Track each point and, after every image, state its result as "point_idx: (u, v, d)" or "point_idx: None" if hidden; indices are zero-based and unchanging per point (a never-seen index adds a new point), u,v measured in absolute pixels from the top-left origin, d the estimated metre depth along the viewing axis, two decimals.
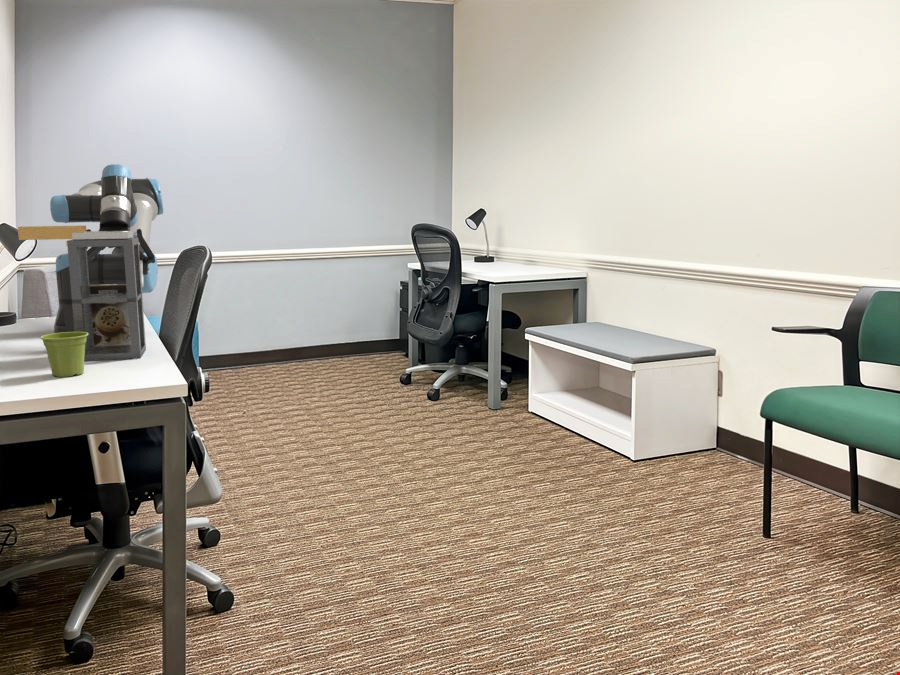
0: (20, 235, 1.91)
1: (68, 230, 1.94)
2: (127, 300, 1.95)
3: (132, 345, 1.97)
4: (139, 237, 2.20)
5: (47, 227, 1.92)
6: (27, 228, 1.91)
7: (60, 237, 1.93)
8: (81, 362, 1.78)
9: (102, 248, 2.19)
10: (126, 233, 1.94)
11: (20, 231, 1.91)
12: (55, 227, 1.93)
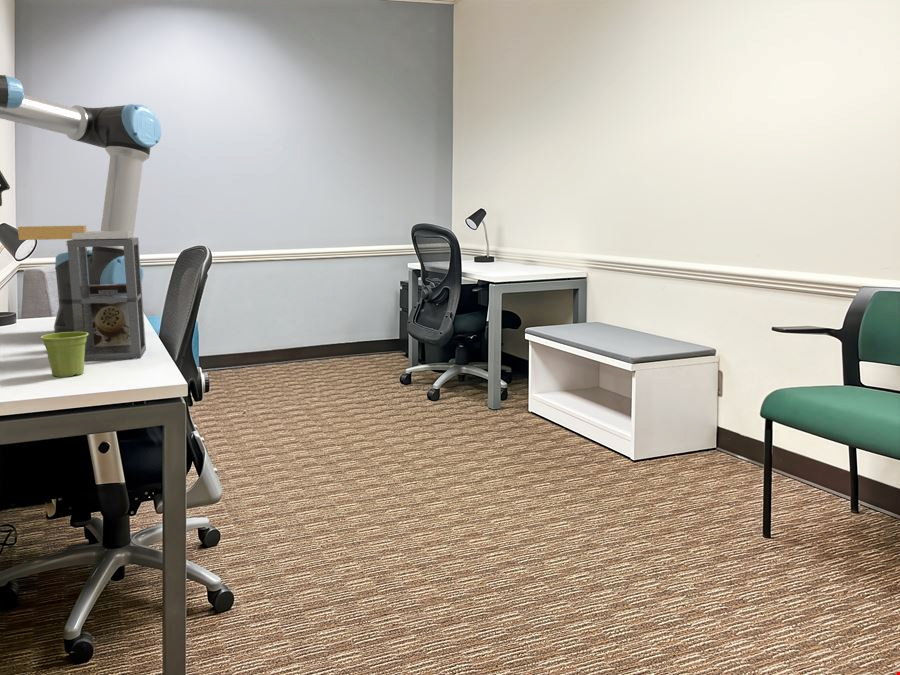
0: (20, 235, 1.91)
1: (68, 230, 1.94)
2: (127, 300, 1.95)
3: (132, 345, 1.97)
4: None
5: (47, 227, 1.92)
6: (27, 228, 1.91)
7: (60, 237, 1.93)
8: (81, 362, 1.78)
9: None
10: (126, 233, 1.94)
11: (20, 231, 1.91)
12: (55, 227, 1.93)
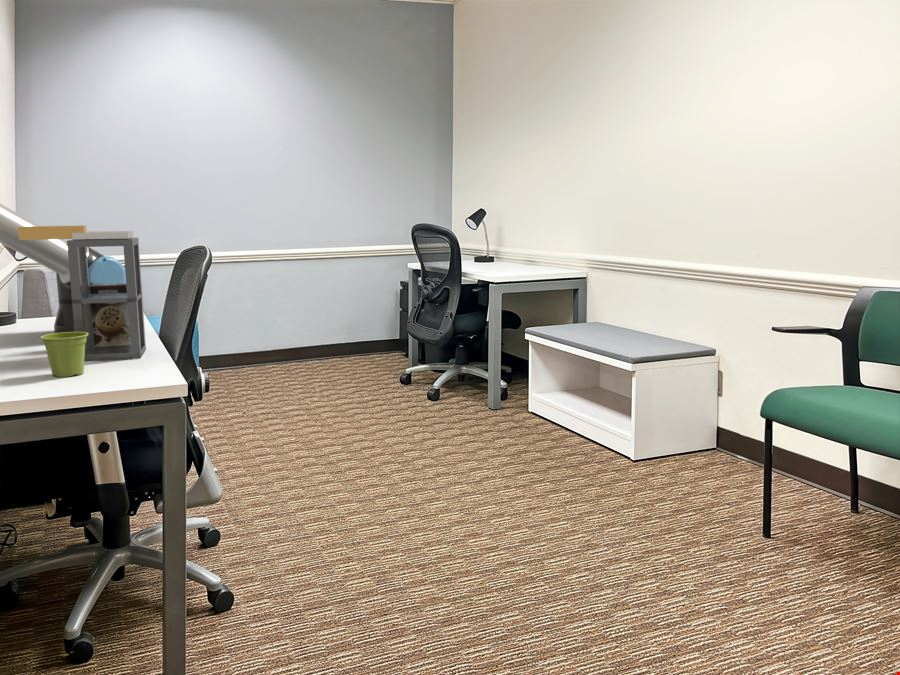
0: (20, 235, 1.91)
1: (68, 230, 1.94)
2: (127, 300, 1.95)
3: (132, 345, 1.97)
4: None
5: (47, 227, 1.92)
6: (27, 228, 1.91)
7: (60, 237, 1.93)
8: (81, 362, 1.78)
9: None
10: (126, 233, 1.94)
11: (20, 231, 1.91)
12: (55, 227, 1.93)
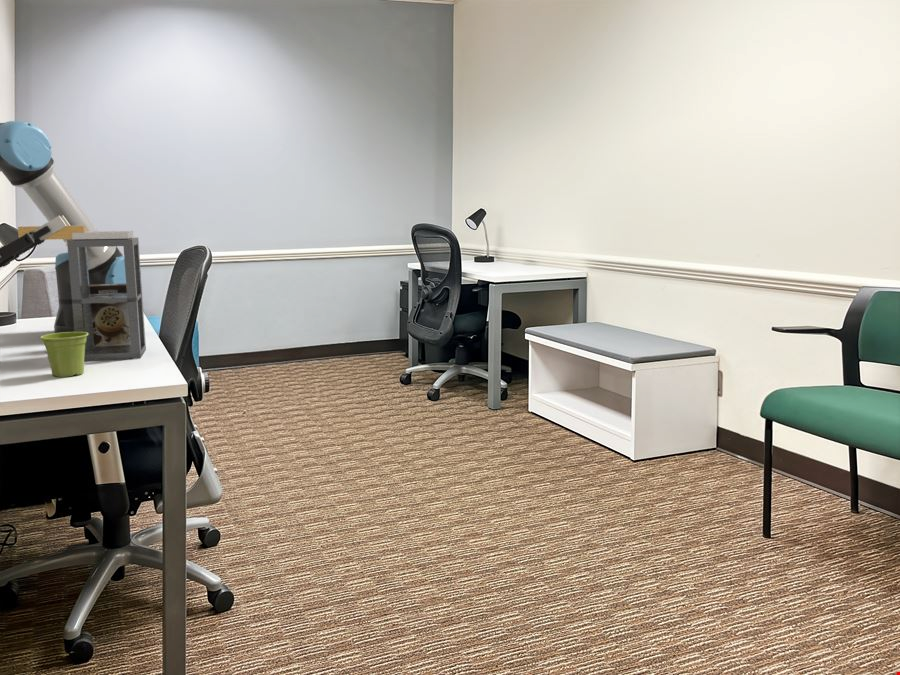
0: (20, 235, 1.91)
1: (68, 230, 1.94)
2: (127, 300, 1.95)
3: (132, 345, 1.97)
4: (5, 258, 1.88)
5: None
6: (27, 228, 1.91)
7: (60, 237, 1.93)
8: (81, 362, 1.78)
9: None
10: (126, 233, 1.94)
11: (20, 231, 1.91)
12: None
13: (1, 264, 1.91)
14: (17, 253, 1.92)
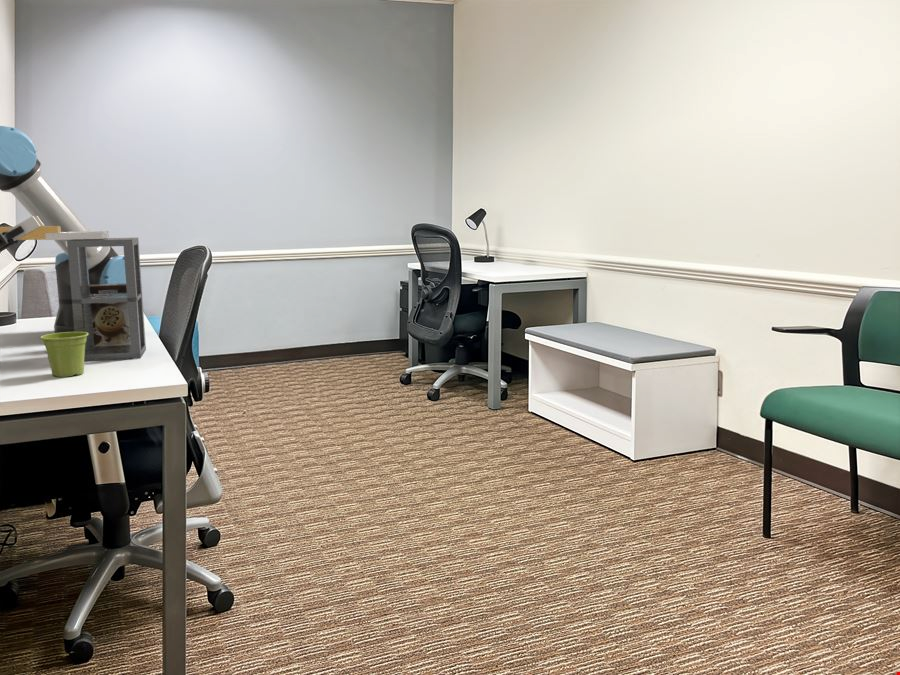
0: None
1: (41, 230, 1.92)
2: (127, 300, 1.95)
3: (132, 345, 1.97)
4: None
5: None
6: (0, 228, 1.90)
7: (34, 237, 1.92)
8: (81, 362, 1.78)
9: None
10: (100, 233, 1.92)
11: None
12: None
13: None
14: None
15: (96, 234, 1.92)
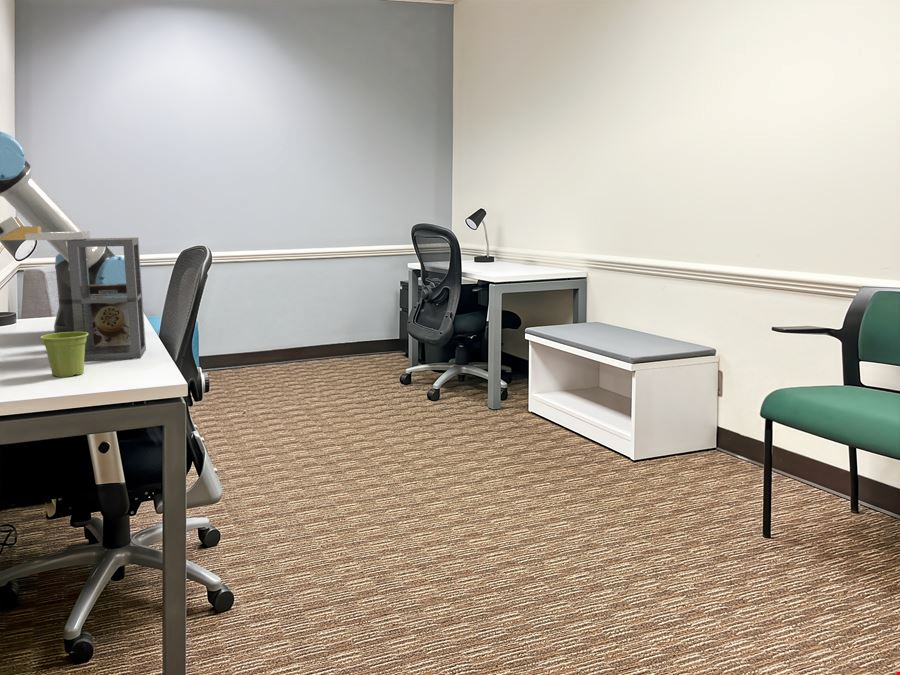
0: None
1: (21, 230, 1.91)
2: (127, 300, 1.95)
3: (132, 345, 1.97)
4: None
5: None
6: None
7: (14, 238, 1.91)
8: (81, 362, 1.78)
9: None
10: (80, 234, 1.91)
11: None
12: None
13: None
14: None
15: (76, 234, 1.91)
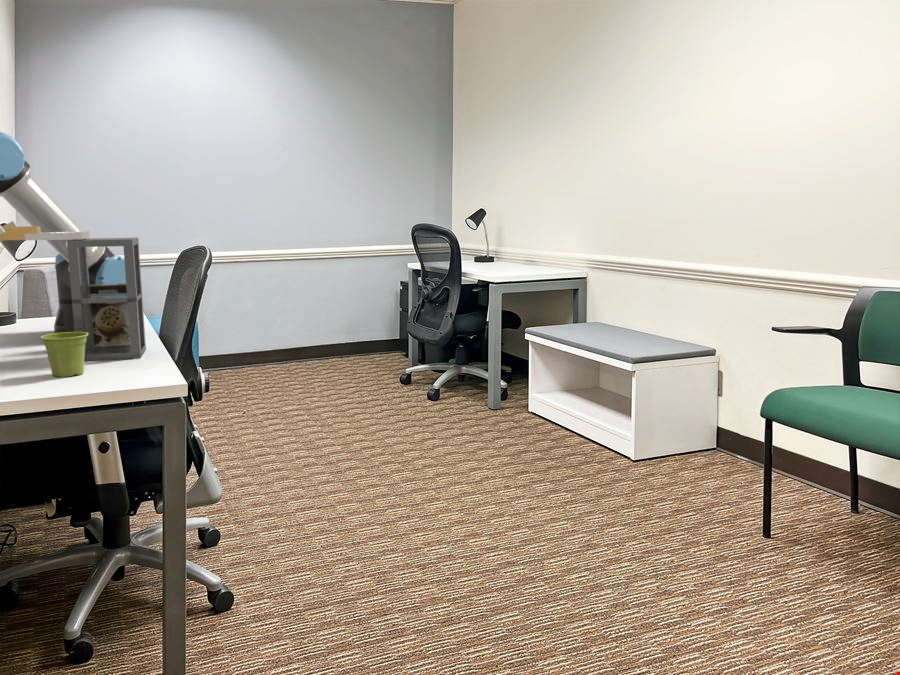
0: None
1: (21, 230, 1.91)
2: (127, 300, 1.95)
3: (132, 345, 1.97)
4: None
5: None
6: None
7: (13, 238, 1.91)
8: (81, 362, 1.78)
9: None
10: (80, 234, 1.91)
11: None
12: (8, 228, 1.90)
13: None
14: None
15: (76, 234, 1.91)
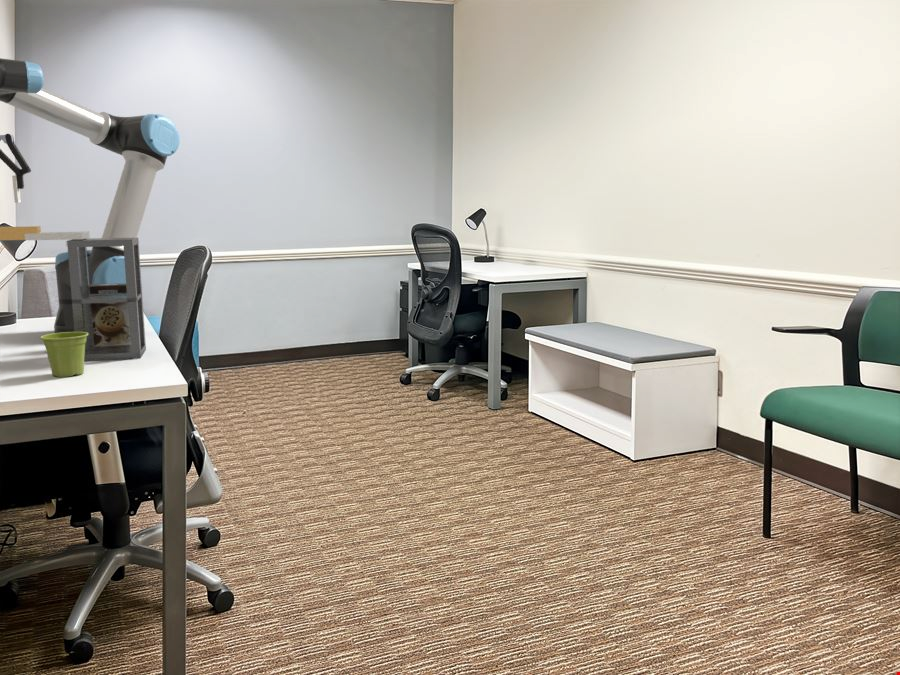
0: None
1: (21, 230, 1.91)
2: (127, 300, 1.95)
3: (132, 345, 1.97)
4: (9, 145, 2.01)
5: (0, 228, 1.90)
6: None
7: (13, 238, 1.91)
8: (81, 362, 1.78)
9: None
10: (80, 234, 1.91)
11: None
12: (8, 228, 1.90)
13: None
14: (0, 155, 2.01)
15: (76, 234, 1.91)
